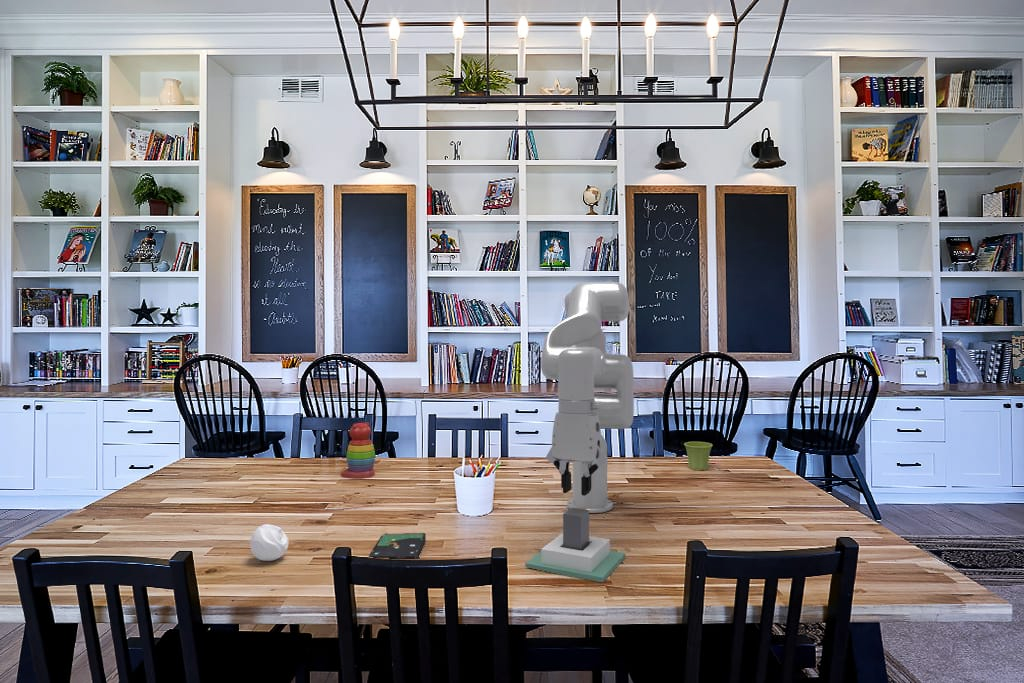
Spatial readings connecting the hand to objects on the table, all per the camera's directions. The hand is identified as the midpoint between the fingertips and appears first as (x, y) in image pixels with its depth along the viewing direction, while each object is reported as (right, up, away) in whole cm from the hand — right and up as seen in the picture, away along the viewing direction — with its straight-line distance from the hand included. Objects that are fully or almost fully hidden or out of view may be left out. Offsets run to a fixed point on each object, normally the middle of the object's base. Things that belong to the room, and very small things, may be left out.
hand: (576, 492), depth 137 cm
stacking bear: (-65, -13, +79) cm, 103 cm away
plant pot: (+51, -12, +87) cm, 101 cm away
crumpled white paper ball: (-67, -16, +3) cm, 68 cm away
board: (0, -15, +1) cm, 15 cm away
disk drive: (-39, -16, +7) cm, 43 cm away
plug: (0, -14, 0) cm, 14 cm away
